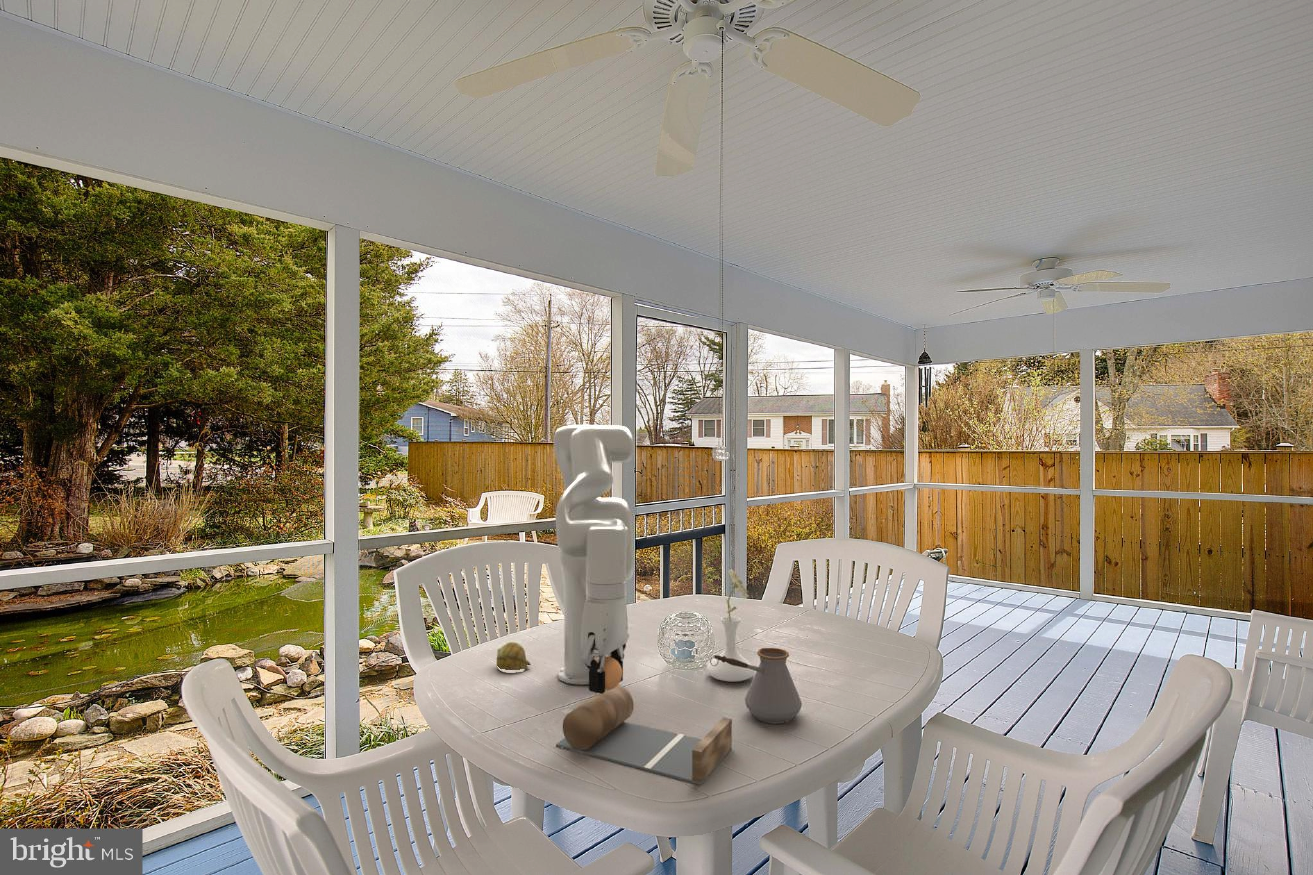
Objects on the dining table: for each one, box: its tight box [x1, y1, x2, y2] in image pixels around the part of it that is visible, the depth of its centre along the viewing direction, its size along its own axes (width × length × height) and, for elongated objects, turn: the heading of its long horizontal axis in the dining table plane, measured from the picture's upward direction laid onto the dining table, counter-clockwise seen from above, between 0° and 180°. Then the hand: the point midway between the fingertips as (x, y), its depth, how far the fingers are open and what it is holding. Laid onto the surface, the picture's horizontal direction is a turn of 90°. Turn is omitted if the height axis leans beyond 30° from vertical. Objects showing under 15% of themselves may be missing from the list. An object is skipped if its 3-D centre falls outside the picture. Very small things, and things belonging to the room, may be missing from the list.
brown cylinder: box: [562, 684, 634, 751], centre depth 123 cm, size 14×7×7 cm, turn 153°
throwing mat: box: [555, 721, 733, 786], centre depth 119 cm, size 14×29×1 cm, turn 63°
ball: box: [596, 657, 622, 690], centre depth 122 cm, size 6×6×6 cm
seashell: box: [496, 641, 531, 670], centre depth 160 cm, size 10×7×8 cm
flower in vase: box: [706, 568, 756, 683], centre depth 154 cm, size 13×11×25 cm
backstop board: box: [692, 716, 733, 782], centre depth 112 cm, size 14×2×5 cm, turn 153°
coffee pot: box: [709, 647, 803, 724], centre depth 130 cm, size 21×12×15 cm, turn 123°
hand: (606, 685), depth 122 cm, fingers closed on ball, 5 cm apart
